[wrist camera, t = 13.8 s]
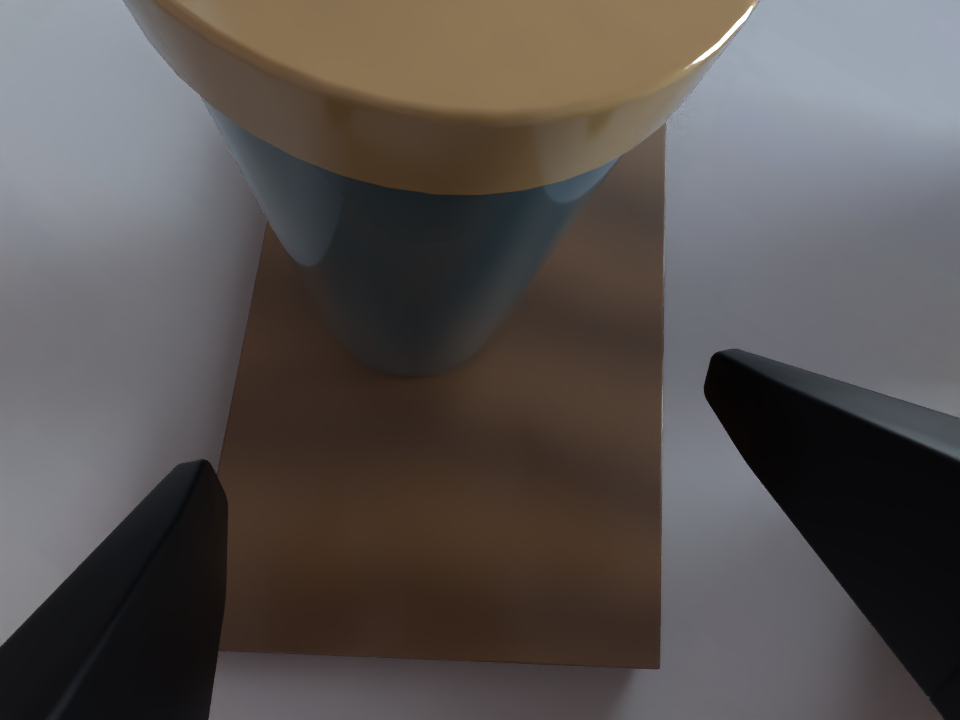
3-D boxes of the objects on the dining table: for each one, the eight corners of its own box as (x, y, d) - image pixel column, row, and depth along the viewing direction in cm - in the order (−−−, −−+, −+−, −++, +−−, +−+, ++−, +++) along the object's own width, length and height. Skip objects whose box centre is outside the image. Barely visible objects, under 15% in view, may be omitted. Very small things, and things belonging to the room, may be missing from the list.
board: (643, 656, 17) (661, 670, 16) (198, 635, 15) (180, 650, 14) (653, 89, 21) (667, 68, 20) (316, 21, 20) (311, -6, 18)
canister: (448, 423, 16) (663, 234, 3) (264, 312, 16) (-390, -418, 3) (546, 257, 18) (960, -331, 5) (381, 155, 18) (325, -758, 4)
